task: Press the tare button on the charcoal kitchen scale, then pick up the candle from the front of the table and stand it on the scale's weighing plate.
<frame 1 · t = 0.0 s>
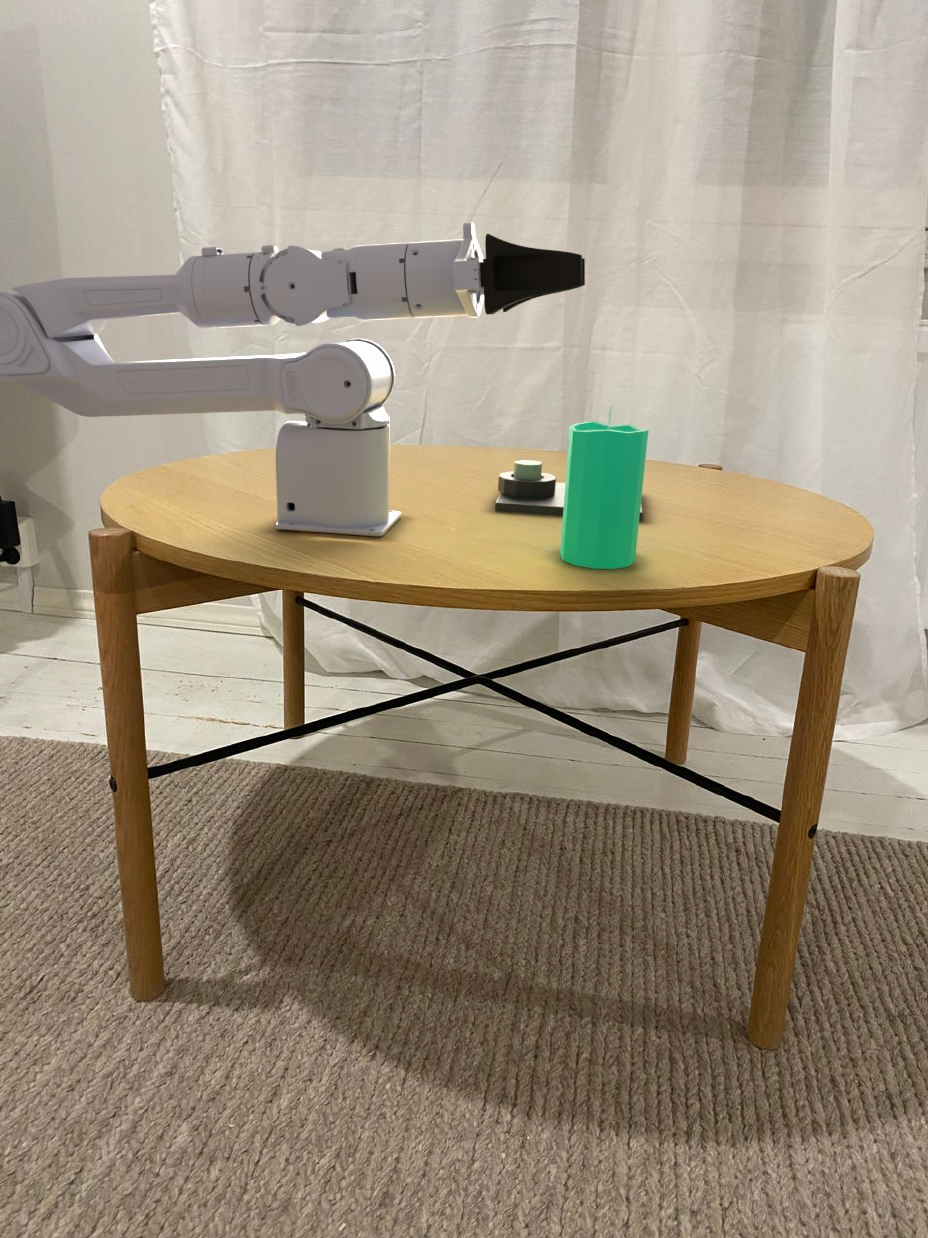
hand: (583, 270, 72), 22 cm above the table, tool horizontal, fingers open, 7 cm apart
tare button: (527, 471, 93), point 3 cm above the table, slide at 0.1 cm
scale: (570, 503, 93), on the table
candle: (596, 560, 74), on the table
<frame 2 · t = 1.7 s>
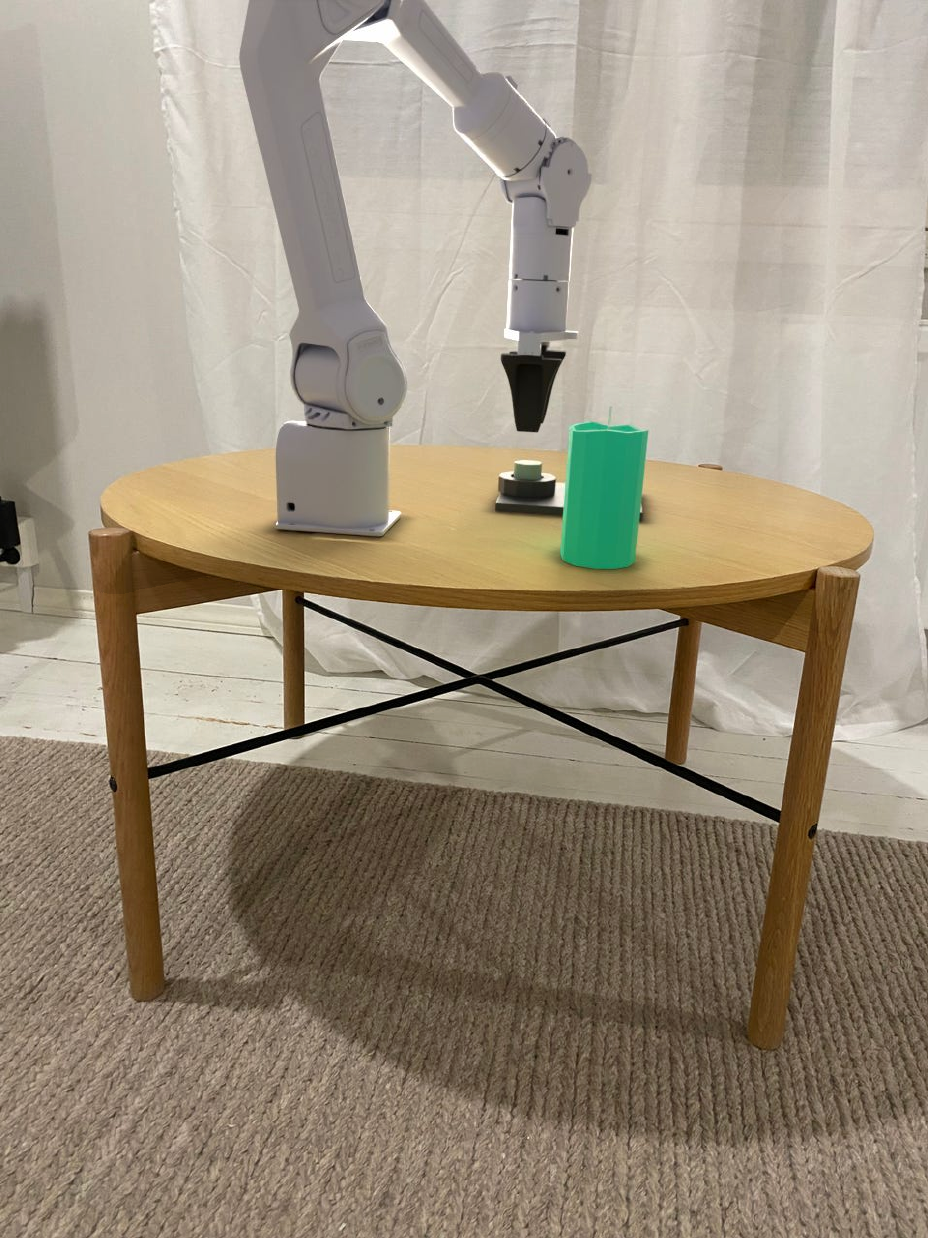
hand: (530, 427, 91), 7 cm above the table, tool pointing down, fingers open, 6 cm apart
nothing on the table moved.
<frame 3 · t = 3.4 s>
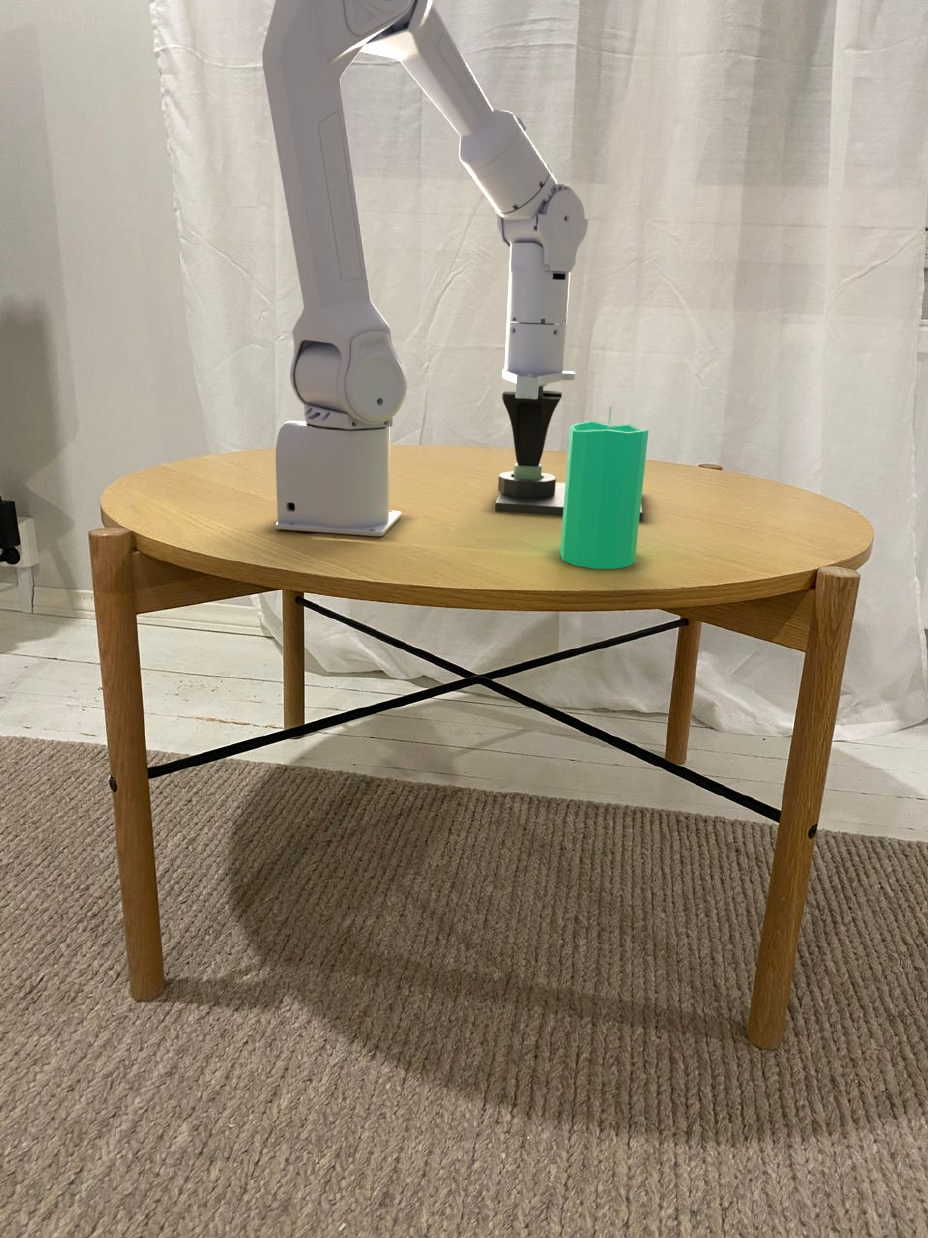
hand: (528, 465, 93), 4 cm above the table, tool pointing down, fingers closed, pressing on tare button
tare button: (527, 473, 93), point 3 cm above the table, slide at -0.1 cm, touching gripper
everything else where it was.
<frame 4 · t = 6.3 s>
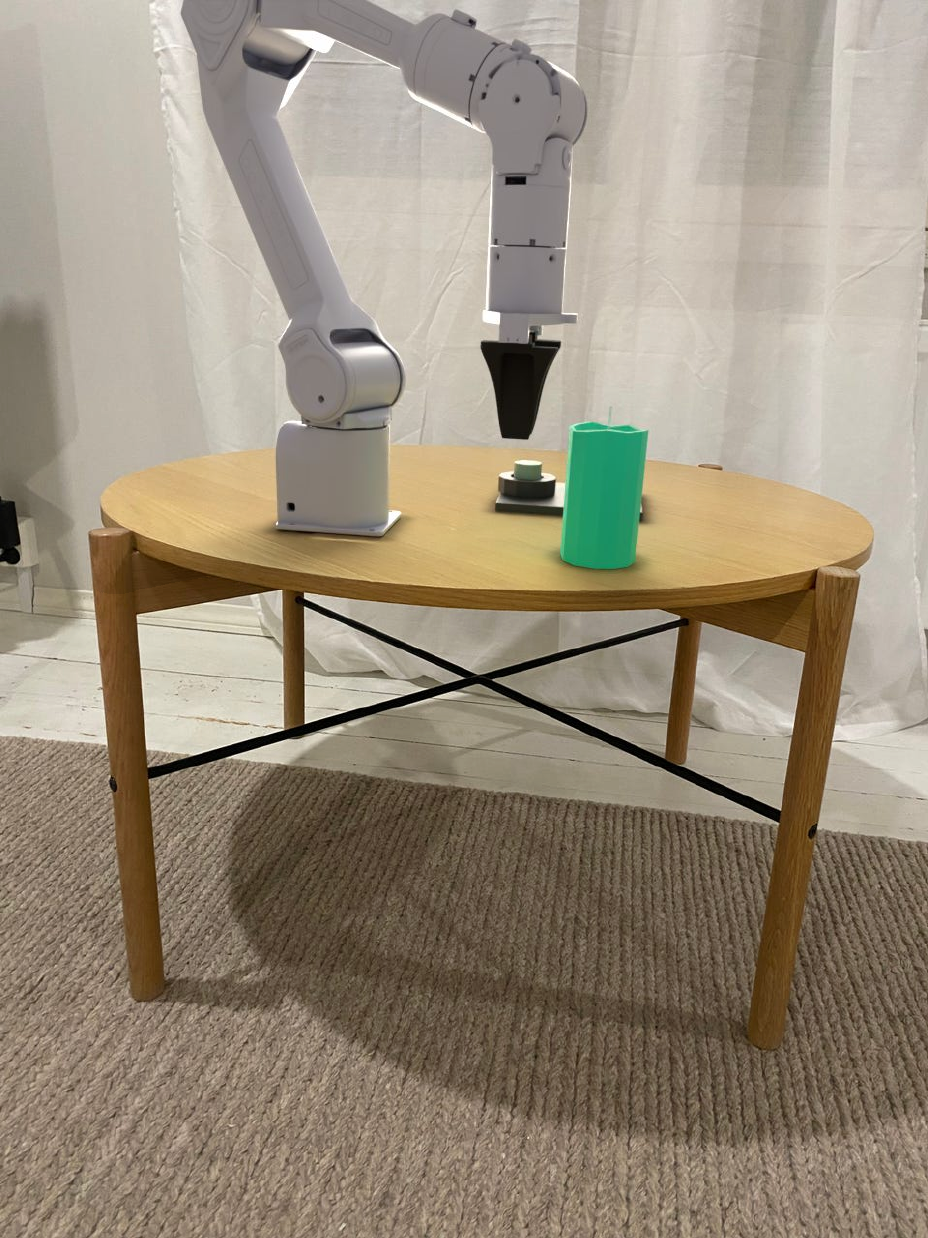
hand: (517, 435, 72), 9 cm above the table, tool pointing down, fingers closed
tare button: (527, 471, 93), point 3 cm above the table, slide at 0.1 cm
everything else where it was.
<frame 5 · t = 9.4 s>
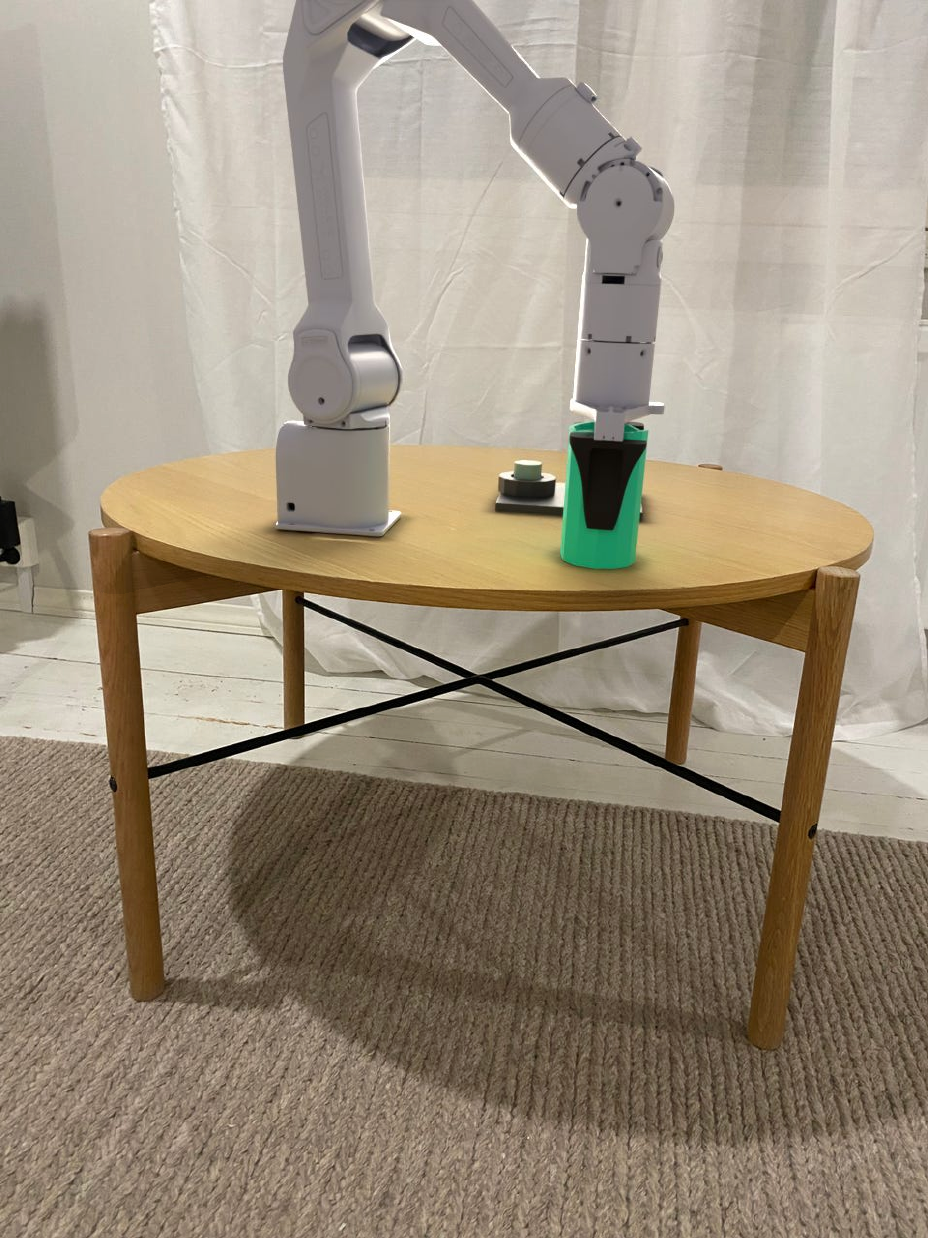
hand: (600, 519, 73), 3 cm above the table, tool pointing down, fingers closed on candle, 5 cm apart
candle: (596, 560, 74), on the table, touching gripper
everything else where it was.
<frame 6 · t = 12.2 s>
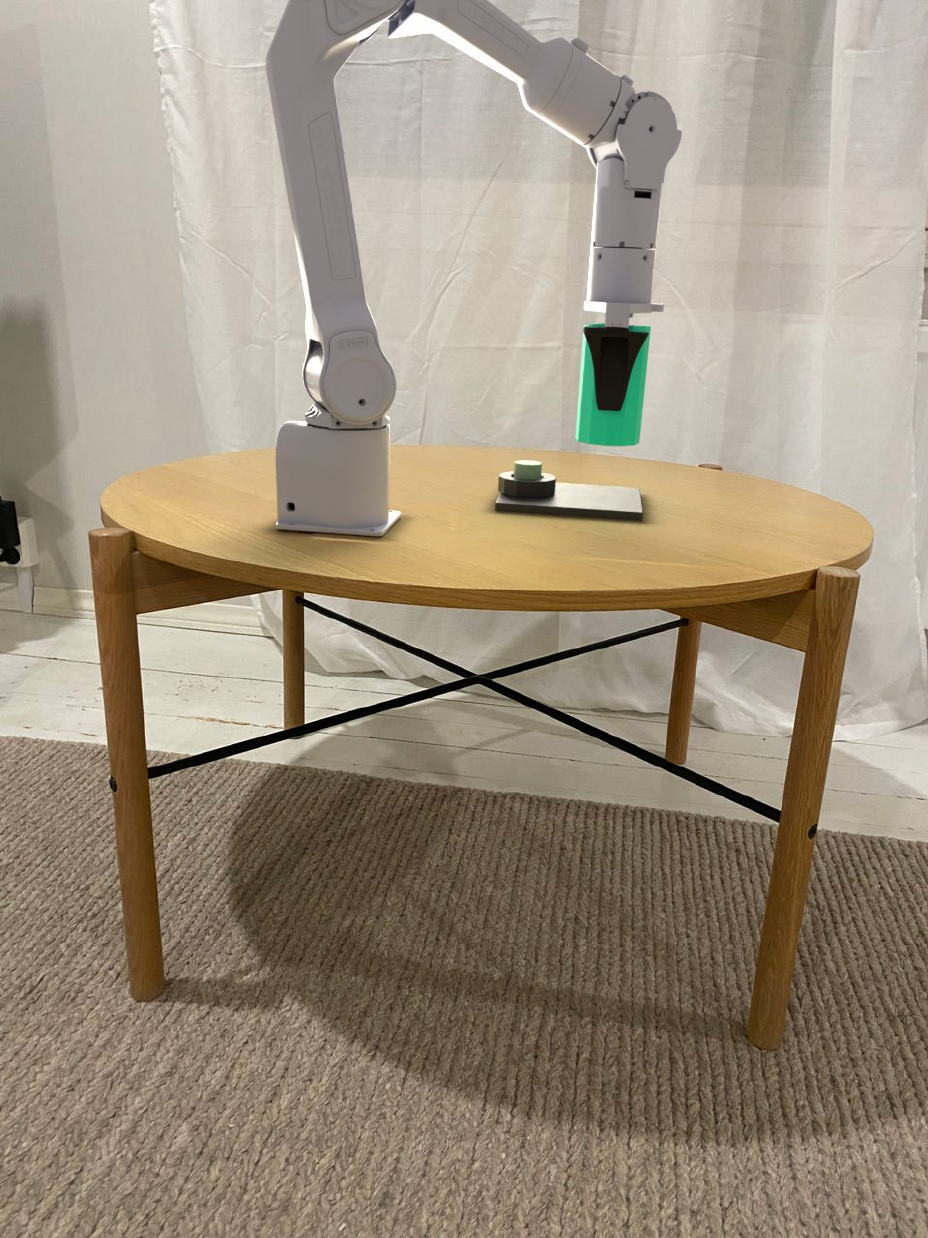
hand: (609, 406, 86), 10 cm above the table, tool pointing down, fingers closed on candle, 5 cm apart
candle: (606, 443, 87), point 7 cm above the table, touching gripper
everything else where it was.
when the fingers open (4 cm above the table, at t = 15.0 s): candle stays where it is, resting on scale.
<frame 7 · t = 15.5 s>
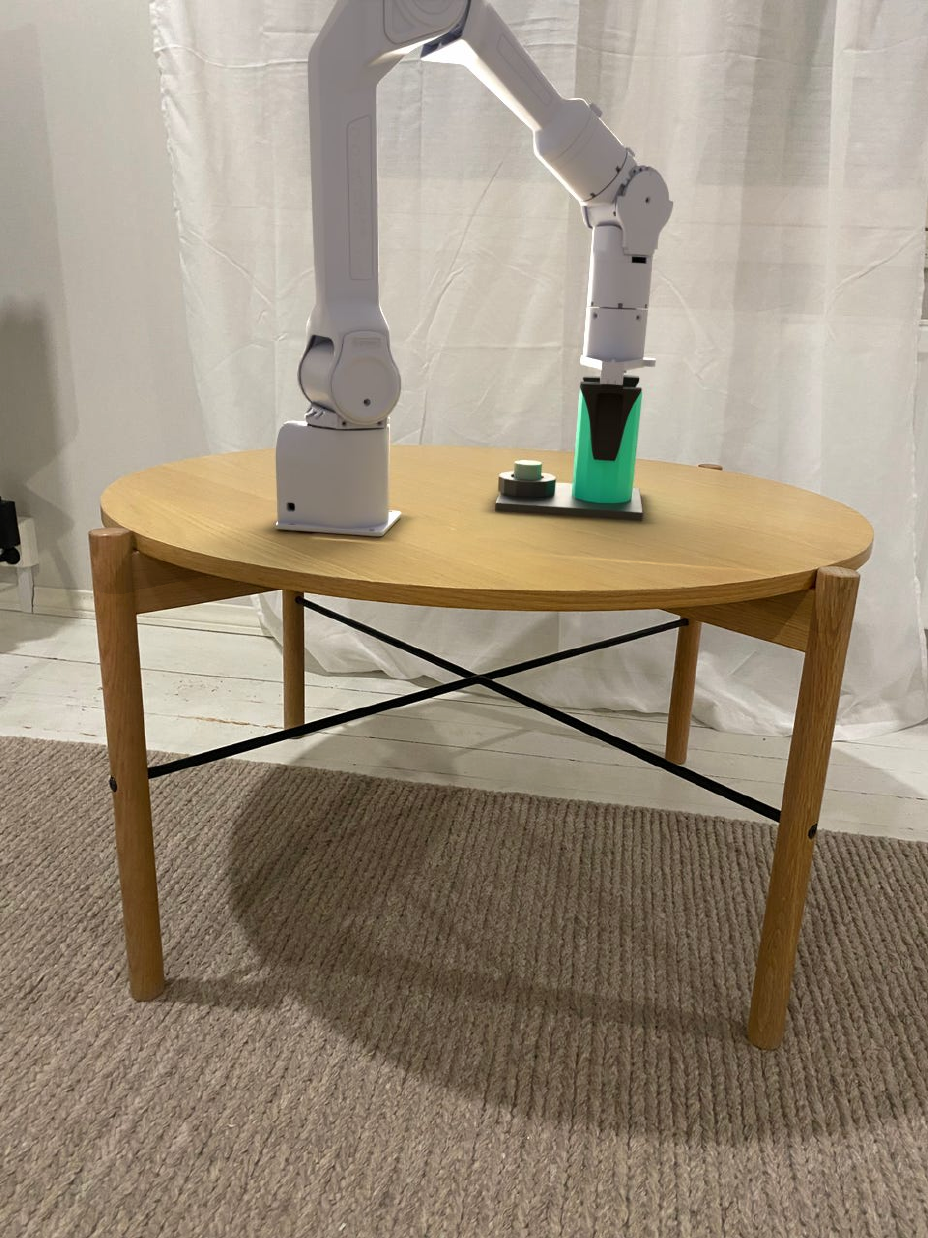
hand: (604, 453, 91), 5 cm above the table, tool pointing down, fingers open, 7 cm apart
candle: (601, 498, 93), point 1 cm above the table, touching scale
everything else where it was.
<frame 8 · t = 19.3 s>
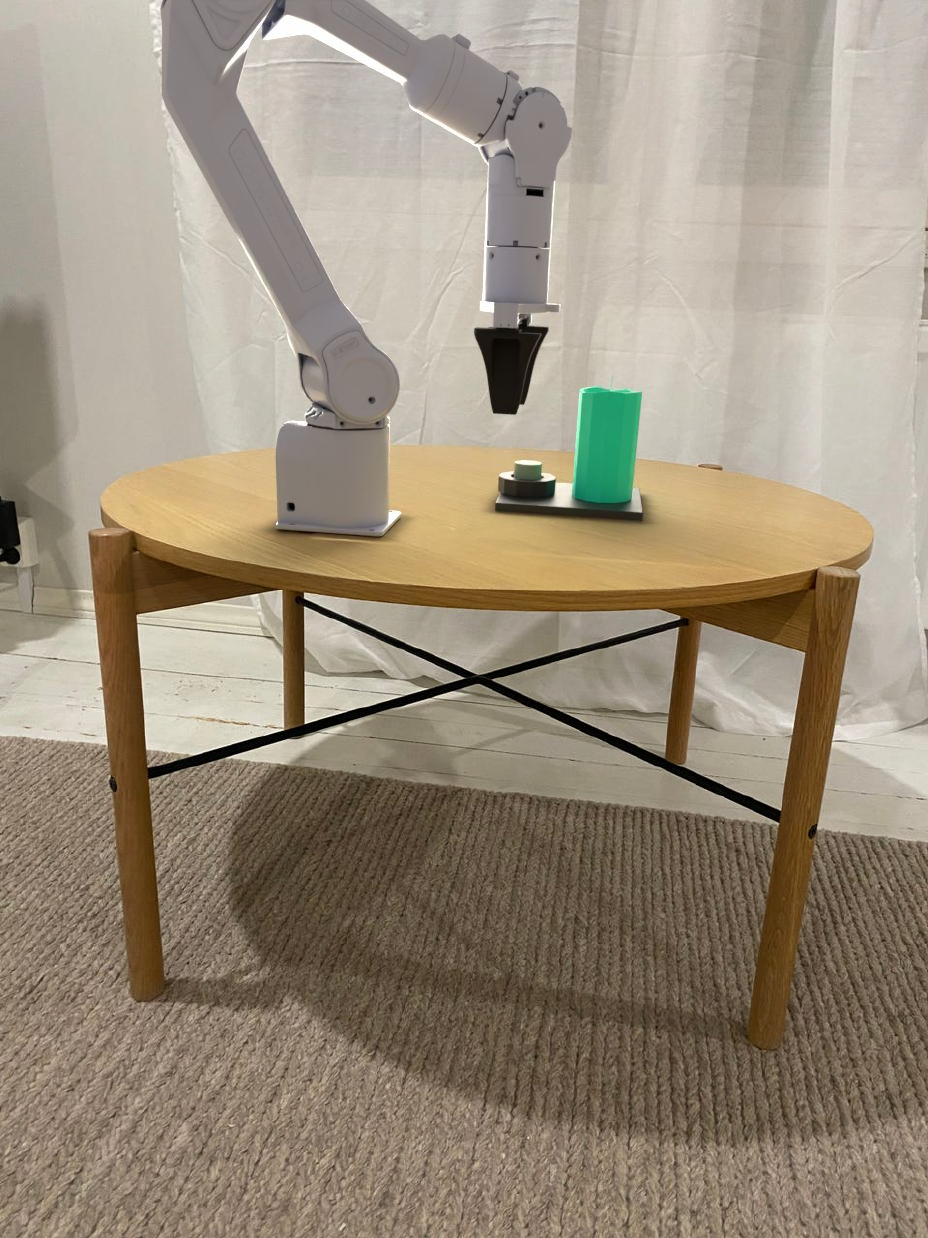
hand: (509, 408, 84), 10 cm above the table, tool pointing down, fingers open, 7 cm apart
nothing on the table moved.
at the end: tare button pushed in 1.0 cm at the most during the clip, back to where it started at the end; candle inside the target area on the scale (0.6 cm from its centre), point 0.7 cm above the scale's base; candle tilted 0° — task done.
